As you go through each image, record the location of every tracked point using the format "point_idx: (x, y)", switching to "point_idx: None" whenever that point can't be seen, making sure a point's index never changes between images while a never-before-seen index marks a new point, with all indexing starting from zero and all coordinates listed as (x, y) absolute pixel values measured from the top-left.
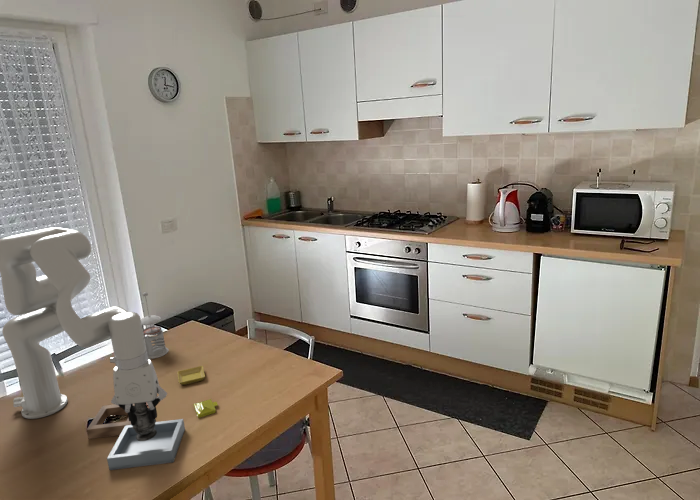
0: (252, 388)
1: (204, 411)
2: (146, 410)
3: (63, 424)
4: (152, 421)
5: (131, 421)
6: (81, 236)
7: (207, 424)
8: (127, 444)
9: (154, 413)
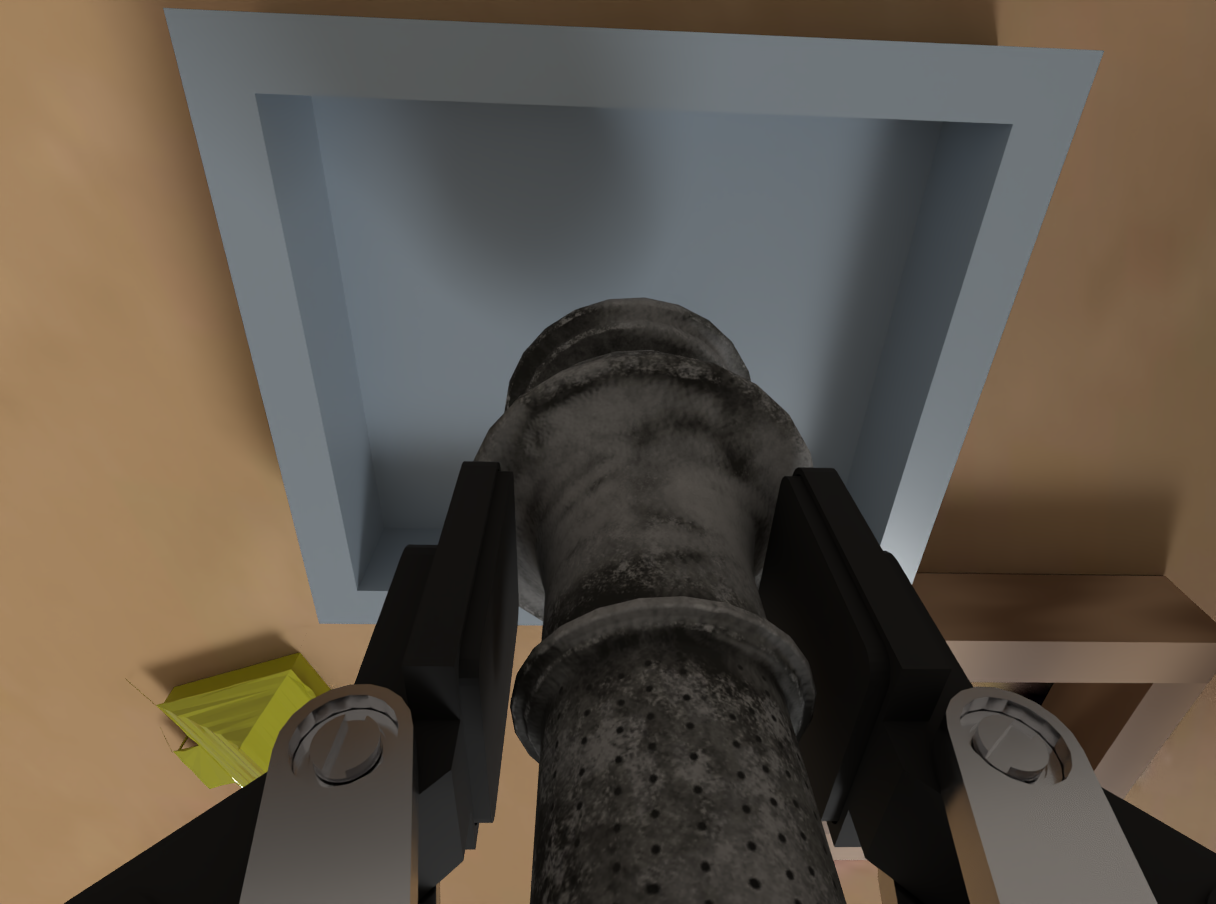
0: (20, 862)
1: (242, 704)
2: (549, 703)
3: None
4: (457, 481)
5: (848, 515)
6: None
7: (170, 568)
8: (842, 422)
9: (385, 617)
